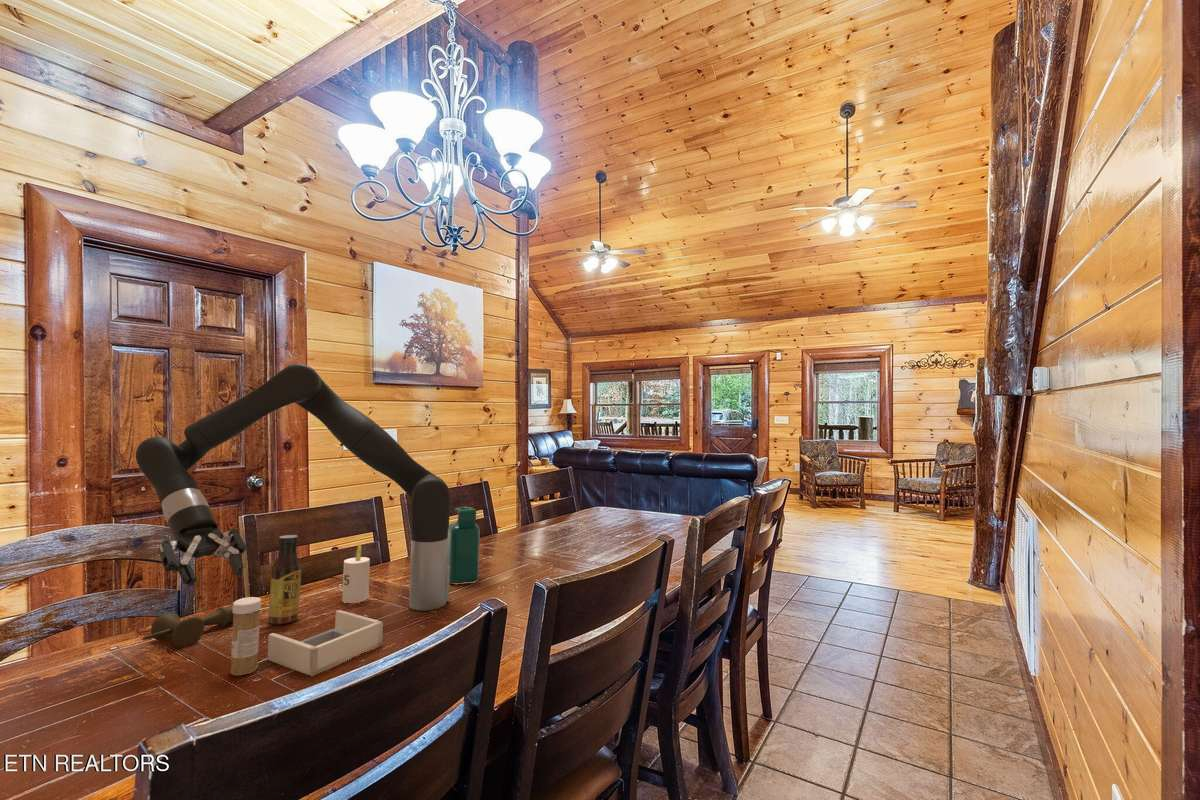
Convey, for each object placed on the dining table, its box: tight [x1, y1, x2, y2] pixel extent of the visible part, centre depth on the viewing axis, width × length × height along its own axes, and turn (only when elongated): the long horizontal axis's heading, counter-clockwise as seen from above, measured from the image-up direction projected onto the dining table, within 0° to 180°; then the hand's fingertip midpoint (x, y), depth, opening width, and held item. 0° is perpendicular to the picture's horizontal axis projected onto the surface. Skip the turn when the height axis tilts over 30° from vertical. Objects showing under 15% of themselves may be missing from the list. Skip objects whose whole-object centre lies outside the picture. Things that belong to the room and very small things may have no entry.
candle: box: [342, 542, 371, 604], centre depth 143 cm, size 6×6×15 cm
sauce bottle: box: [268, 534, 302, 626], centre depth 128 cm, size 6×6×20 cm
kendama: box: [141, 603, 234, 648], centre depth 119 cm, size 6×10×20 cm
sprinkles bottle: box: [229, 596, 262, 677], centre depth 103 cm, size 5×5×13 cm
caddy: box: [267, 609, 384, 677], centre depth 112 cm, size 16×14×5 cm
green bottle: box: [447, 506, 481, 584], centre depth 161 cm, size 10×8×22 cm
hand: (216, 578), depth 109 cm, fingers open, 8 cm apart
